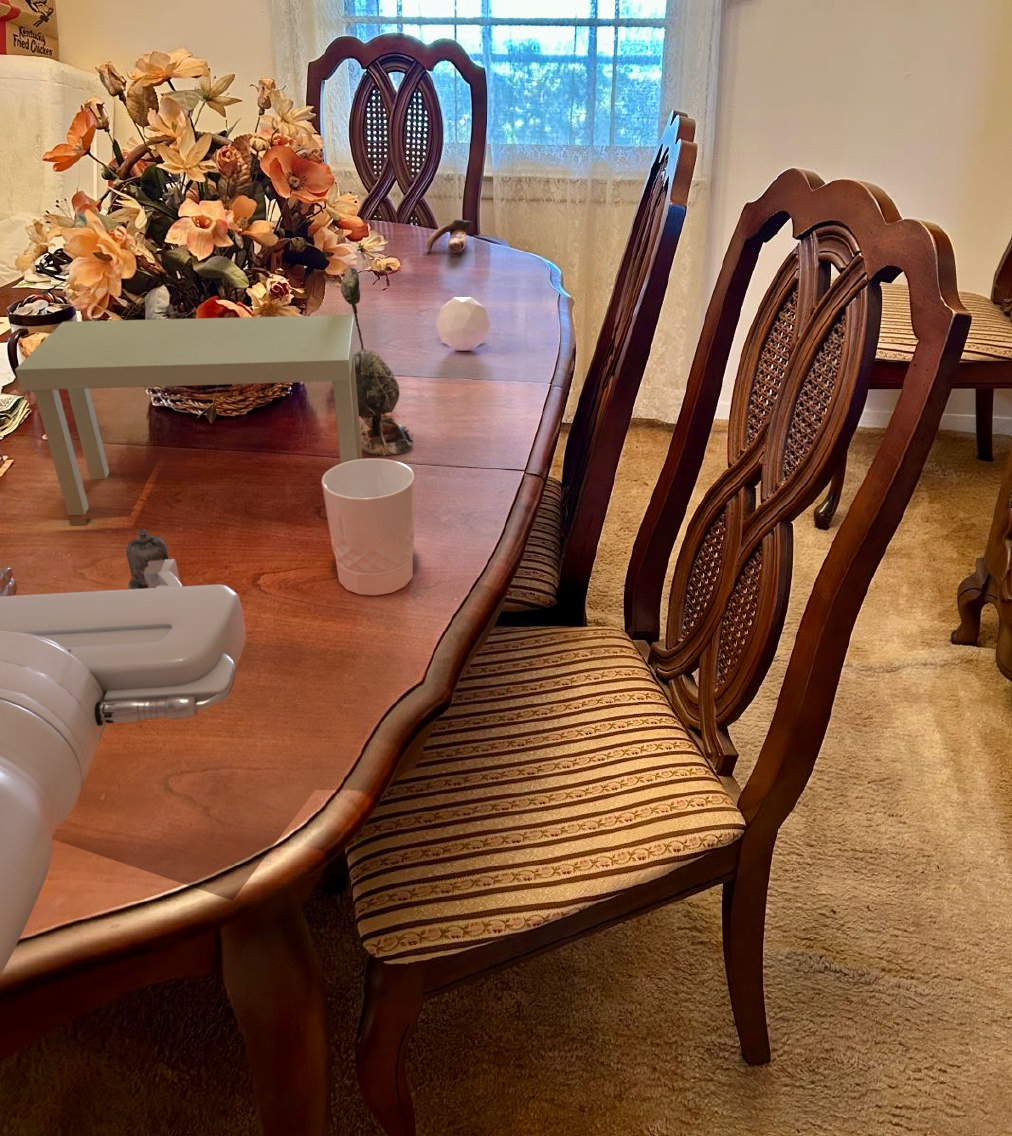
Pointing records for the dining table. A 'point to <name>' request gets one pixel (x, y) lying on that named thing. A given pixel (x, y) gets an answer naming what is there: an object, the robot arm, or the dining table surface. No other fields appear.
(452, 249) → the lashed bone hook
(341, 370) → the side table
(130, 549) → the salt shaker
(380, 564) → the white cup
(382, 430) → the plant with pod
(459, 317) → the geometric ball
